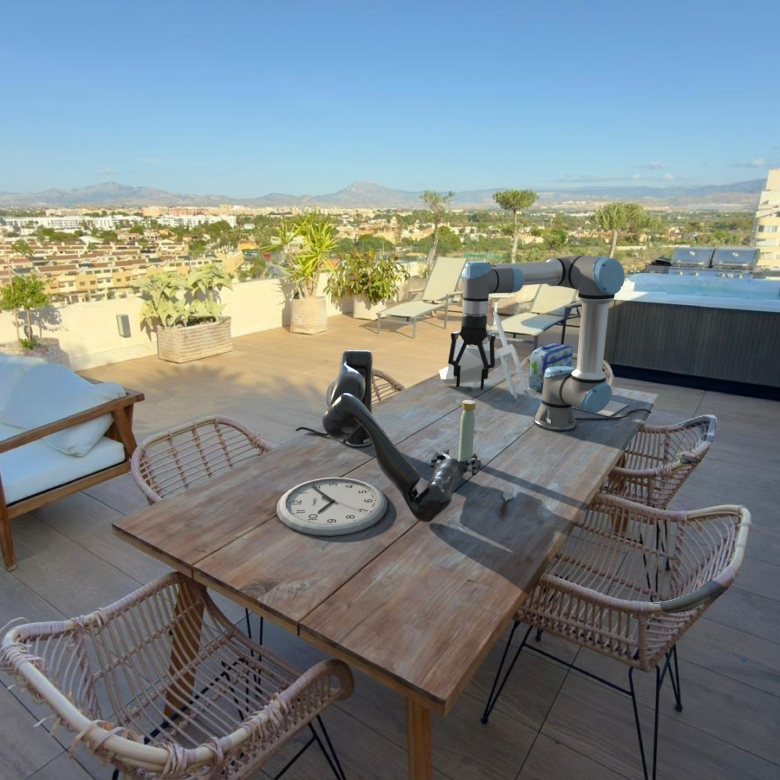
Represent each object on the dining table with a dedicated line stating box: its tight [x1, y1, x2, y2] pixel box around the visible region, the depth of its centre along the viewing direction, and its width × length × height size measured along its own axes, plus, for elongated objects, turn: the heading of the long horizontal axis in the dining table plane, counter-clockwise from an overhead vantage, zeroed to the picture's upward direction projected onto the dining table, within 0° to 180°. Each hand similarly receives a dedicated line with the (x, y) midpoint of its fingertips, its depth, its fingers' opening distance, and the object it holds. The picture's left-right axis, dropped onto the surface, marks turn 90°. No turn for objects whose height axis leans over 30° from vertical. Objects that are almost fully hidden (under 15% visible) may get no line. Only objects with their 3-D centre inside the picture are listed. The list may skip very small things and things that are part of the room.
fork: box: [500, 486, 514, 518], centre depth 144 cm, size 3×16×2 cm, turn 160°
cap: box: [461, 399, 476, 411], centre depth 166 cm, size 4×4×2 cm
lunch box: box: [528, 343, 574, 392], centre depth 249 cm, size 26×11×21 cm, turn 134°
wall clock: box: [276, 476, 388, 537], centre depth 142 cm, size 30×2×30 cm
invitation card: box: [573, 400, 629, 418], centre depth 226 cm, size 21×1×15 cm
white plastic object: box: [438, 310, 531, 400], centre depth 245 cm, size 37×45×31 cm
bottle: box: [457, 409, 476, 464], centre depth 168 cm, size 4×4×20 cm
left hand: (461, 454), depth 163 cm, fingers open, 8 cm apart
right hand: (469, 387), depth 164 cm, fingers open, 7 cm apart
